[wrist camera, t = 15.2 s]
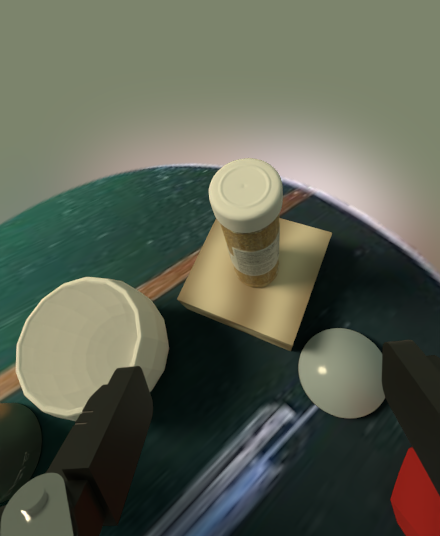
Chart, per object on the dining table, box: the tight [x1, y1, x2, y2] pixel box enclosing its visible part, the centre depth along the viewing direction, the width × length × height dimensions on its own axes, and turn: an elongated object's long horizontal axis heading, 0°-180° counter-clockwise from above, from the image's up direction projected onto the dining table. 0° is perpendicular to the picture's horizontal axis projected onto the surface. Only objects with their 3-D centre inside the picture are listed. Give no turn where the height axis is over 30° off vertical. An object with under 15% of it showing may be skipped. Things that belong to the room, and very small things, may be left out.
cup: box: [16, 277, 169, 421], centre depth 29 cm, size 12×12×10 cm
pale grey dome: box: [298, 328, 385, 418], centre depth 29 cm, size 8×8×1 cm
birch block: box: [177, 218, 332, 351], centre depth 33 cm, size 12×12×4 cm
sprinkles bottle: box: [209, 158, 283, 287], centre depth 25 cm, size 5×5×13 cm
